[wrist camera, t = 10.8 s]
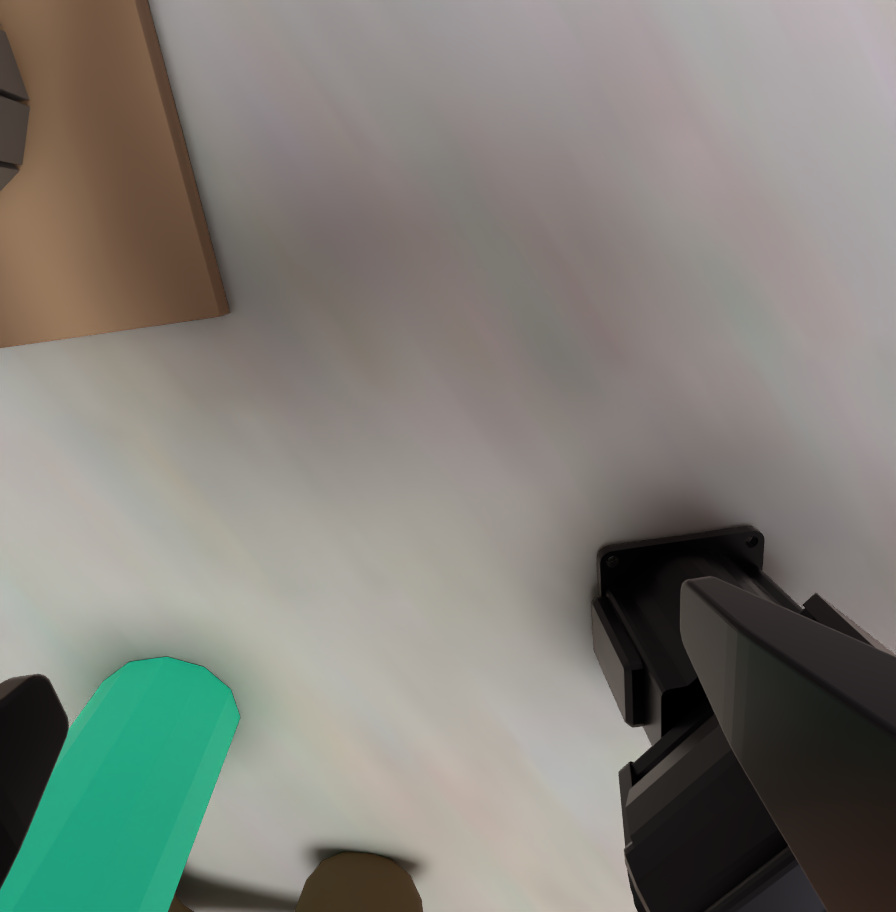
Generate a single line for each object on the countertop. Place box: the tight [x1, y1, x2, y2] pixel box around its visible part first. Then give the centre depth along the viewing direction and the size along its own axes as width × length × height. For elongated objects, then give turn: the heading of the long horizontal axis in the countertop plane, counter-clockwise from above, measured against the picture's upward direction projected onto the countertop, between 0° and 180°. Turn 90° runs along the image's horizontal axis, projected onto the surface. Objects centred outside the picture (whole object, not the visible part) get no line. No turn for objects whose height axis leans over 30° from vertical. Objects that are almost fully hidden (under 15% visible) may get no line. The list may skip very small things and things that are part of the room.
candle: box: [0, 657, 240, 912], centre depth 19 cm, size 6×6×12 cm
